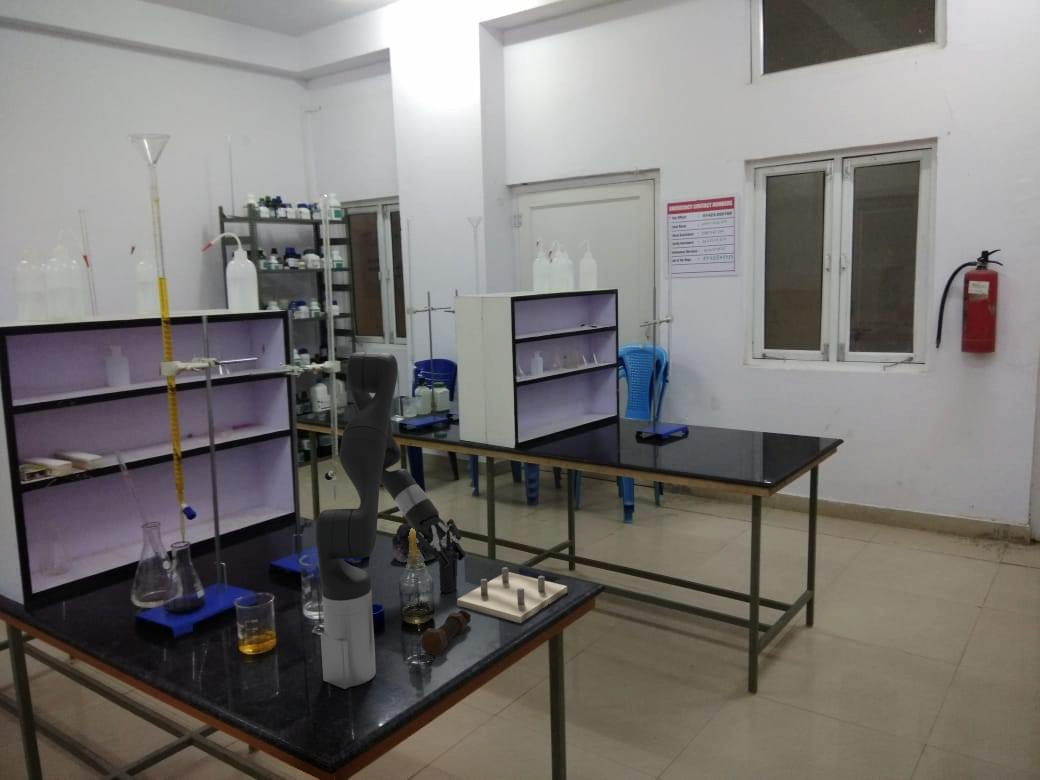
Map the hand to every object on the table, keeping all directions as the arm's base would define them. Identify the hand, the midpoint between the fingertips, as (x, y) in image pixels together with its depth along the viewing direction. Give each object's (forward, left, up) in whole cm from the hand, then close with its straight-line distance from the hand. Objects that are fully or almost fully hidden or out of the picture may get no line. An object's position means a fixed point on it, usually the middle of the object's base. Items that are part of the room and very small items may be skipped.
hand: (455, 561), depth 187 cm
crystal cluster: (+14, +25, -8) cm, 30 cm away
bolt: (-20, -15, -8) cm, 26 cm away
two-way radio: (0, +2, -8) cm, 8 cm away
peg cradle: (+4, -14, -8) cm, 17 cm away
